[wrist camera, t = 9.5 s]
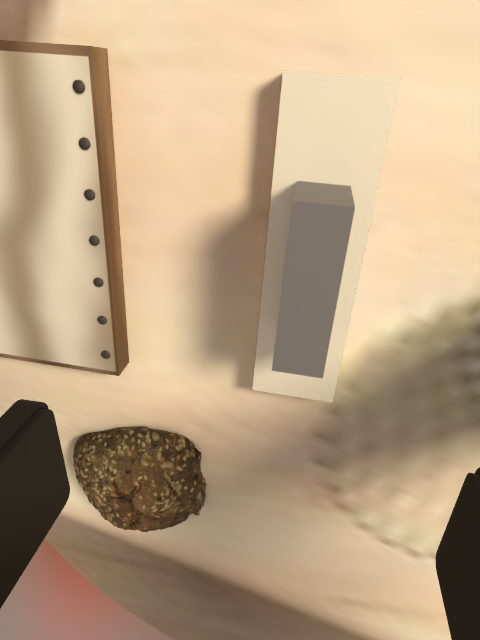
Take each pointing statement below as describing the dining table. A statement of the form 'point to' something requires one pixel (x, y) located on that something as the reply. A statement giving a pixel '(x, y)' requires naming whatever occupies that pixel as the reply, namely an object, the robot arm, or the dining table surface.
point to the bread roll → (140, 477)
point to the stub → (318, 225)
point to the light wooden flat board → (59, 210)
